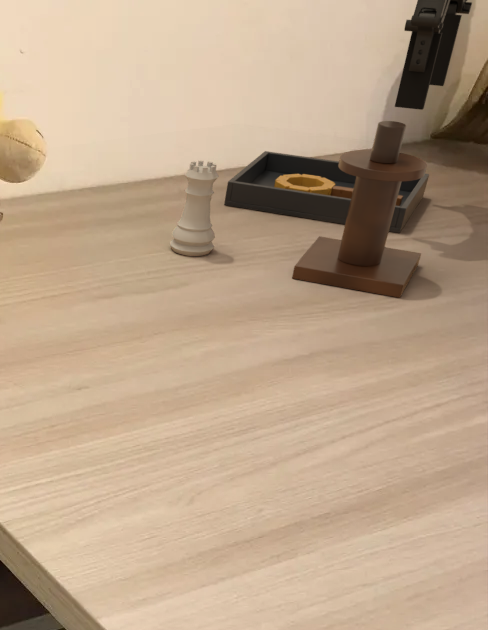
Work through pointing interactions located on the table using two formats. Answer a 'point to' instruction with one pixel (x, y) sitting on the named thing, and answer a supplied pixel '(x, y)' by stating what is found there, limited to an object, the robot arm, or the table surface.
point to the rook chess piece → (196, 212)
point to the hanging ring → (316, 186)
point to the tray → (260, 194)
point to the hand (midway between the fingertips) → (420, 96)
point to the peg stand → (368, 222)
